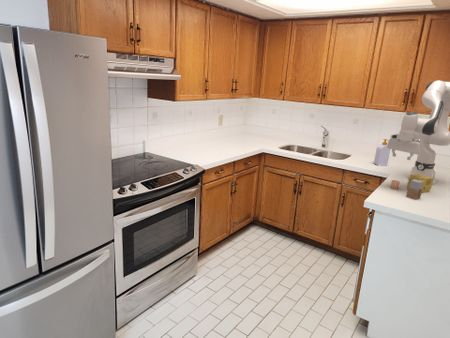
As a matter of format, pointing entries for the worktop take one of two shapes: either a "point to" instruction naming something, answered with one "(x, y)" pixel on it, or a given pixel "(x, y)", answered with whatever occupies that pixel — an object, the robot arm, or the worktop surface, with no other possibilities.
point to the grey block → (416, 184)
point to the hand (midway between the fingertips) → (401, 158)
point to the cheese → (426, 181)
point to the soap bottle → (382, 154)
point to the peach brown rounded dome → (395, 184)
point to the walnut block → (413, 193)
